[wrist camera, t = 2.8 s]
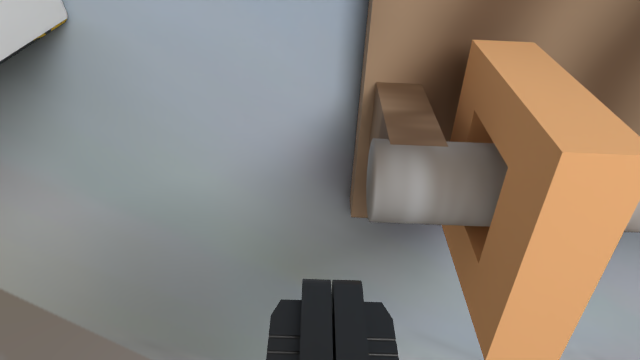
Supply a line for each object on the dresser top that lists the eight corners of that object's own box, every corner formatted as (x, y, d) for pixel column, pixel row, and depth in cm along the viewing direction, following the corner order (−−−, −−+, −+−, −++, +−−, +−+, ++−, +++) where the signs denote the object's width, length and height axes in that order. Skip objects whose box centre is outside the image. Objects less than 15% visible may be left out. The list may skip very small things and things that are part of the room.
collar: (534, 42, 19) (661, 156, 12) (485, 208, 23) (557, 363, 16) (472, 39, 19) (562, 152, 12) (435, 206, 23) (485, 361, 16)
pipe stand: (896, -11, 20) (1204, 62, 13) (744, 215, 27) (896, 345, 20) (372, -36, 20) (399, 24, 13) (349, 200, 27) (359, 326, 20)
